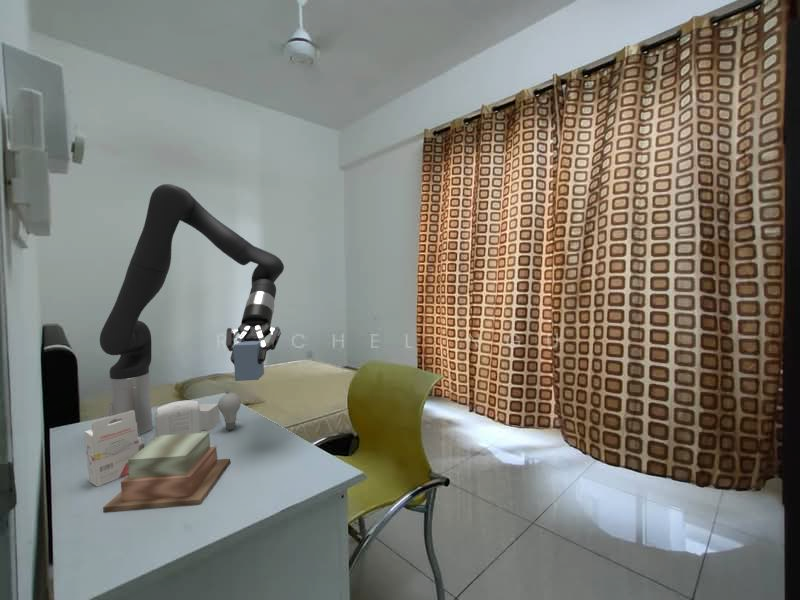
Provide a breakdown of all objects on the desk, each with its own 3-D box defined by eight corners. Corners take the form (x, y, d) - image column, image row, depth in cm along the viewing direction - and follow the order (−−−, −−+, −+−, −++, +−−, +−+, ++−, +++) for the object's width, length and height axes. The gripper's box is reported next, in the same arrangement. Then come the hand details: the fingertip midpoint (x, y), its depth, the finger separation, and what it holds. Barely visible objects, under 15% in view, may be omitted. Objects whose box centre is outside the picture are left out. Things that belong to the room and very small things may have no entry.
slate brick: (235, 380, 87) (233, 345, 87) (242, 374, 93) (241, 341, 92) (257, 379, 88) (256, 344, 87) (264, 373, 93) (262, 340, 93)
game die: (144, 444, 97) (144, 434, 96) (145, 449, 94) (144, 438, 94) (128, 448, 94) (128, 438, 94) (128, 454, 92) (127, 442, 91)
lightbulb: (216, 430, 105) (214, 394, 104) (237, 423, 110) (235, 389, 109) (224, 436, 101) (222, 398, 100) (245, 429, 105) (243, 393, 105)
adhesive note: (189, 430, 105) (188, 411, 105) (201, 422, 111) (200, 403, 111) (209, 430, 105) (208, 410, 105) (220, 422, 111) (219, 403, 111)
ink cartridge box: (132, 463, 86) (128, 405, 86) (141, 469, 84) (137, 409, 83) (87, 481, 79) (82, 417, 78) (95, 488, 77) (90, 422, 76)
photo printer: (201, 438, 100) (198, 395, 99) (202, 444, 96) (200, 400, 96) (157, 448, 94) (154, 403, 93) (157, 455, 91) (154, 408, 90)
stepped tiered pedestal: (103, 512, 68) (100, 467, 68) (152, 468, 84) (149, 431, 84) (200, 504, 70) (198, 460, 70) (230, 462, 86) (228, 426, 86)
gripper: (228, 303, 96) (212, 356, 85) (282, 301, 97) (273, 353, 86) (236, 320, 101) (221, 371, 90) (287, 318, 103) (279, 369, 92)
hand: (247, 362), depth 88 cm, fingers closed on slate brick, 5 cm apart
